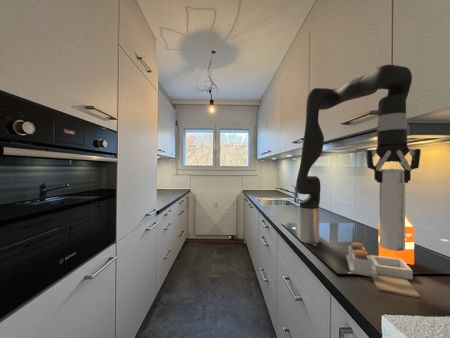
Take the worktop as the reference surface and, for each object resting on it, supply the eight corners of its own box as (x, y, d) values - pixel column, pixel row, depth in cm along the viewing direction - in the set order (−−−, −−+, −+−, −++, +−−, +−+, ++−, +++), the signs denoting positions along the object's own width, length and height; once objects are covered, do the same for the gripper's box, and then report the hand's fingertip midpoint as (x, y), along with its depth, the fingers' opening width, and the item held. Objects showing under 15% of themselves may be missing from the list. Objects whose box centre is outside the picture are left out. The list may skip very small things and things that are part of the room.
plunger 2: (353, 262, 83) (353, 249, 83) (366, 264, 81) (366, 250, 81) (355, 267, 79) (355, 253, 79) (369, 269, 77) (369, 254, 77)
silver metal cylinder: (381, 249, 69) (381, 168, 69) (378, 242, 75) (378, 168, 74) (407, 252, 66) (407, 168, 66) (402, 245, 72) (402, 168, 71)
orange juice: (396, 255, 94) (395, 208, 94) (414, 264, 85) (414, 212, 85) (378, 255, 94) (377, 208, 94) (394, 264, 85) (394, 213, 85)
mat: (370, 275, 77) (370, 273, 77) (406, 281, 73) (406, 279, 73) (378, 290, 67) (378, 288, 67) (419, 297, 64) (419, 295, 64)
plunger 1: (350, 253, 91) (350, 241, 91) (362, 255, 89) (362, 242, 89) (351, 257, 87) (351, 244, 87) (364, 259, 85) (364, 246, 85)
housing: (345, 257, 92) (345, 244, 92) (399, 264, 85) (399, 250, 85) (350, 273, 79) (350, 258, 79) (415, 283, 71) (415, 267, 71)
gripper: (367, 129, 69) (367, 182, 69) (426, 126, 64) (426, 183, 64) (363, 133, 76) (363, 181, 76) (415, 129, 71) (415, 182, 71)
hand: (391, 182), depth 70 cm, fingers closed on silver metal cylinder, 6 cm apart
